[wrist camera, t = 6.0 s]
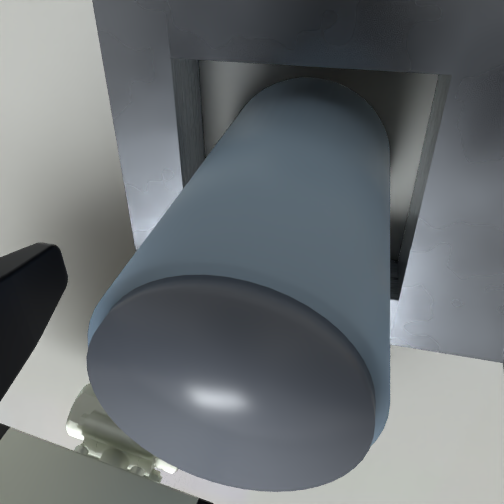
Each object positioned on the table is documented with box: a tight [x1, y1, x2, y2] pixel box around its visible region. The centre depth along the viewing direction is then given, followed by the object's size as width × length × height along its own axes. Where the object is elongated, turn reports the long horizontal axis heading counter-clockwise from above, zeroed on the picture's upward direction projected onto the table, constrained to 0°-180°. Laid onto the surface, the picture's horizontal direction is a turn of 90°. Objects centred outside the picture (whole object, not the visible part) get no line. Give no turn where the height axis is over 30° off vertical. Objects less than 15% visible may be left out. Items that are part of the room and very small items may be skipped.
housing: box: [92, 0, 504, 363], centre depth 13 cm, size 18×10×2 cm, turn 90°
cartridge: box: [87, 78, 390, 492], centre depth 11 cm, size 5×5×9 cm
